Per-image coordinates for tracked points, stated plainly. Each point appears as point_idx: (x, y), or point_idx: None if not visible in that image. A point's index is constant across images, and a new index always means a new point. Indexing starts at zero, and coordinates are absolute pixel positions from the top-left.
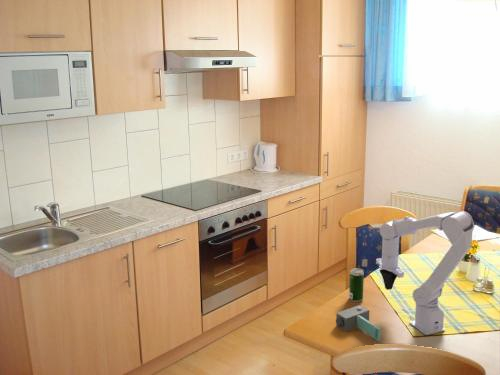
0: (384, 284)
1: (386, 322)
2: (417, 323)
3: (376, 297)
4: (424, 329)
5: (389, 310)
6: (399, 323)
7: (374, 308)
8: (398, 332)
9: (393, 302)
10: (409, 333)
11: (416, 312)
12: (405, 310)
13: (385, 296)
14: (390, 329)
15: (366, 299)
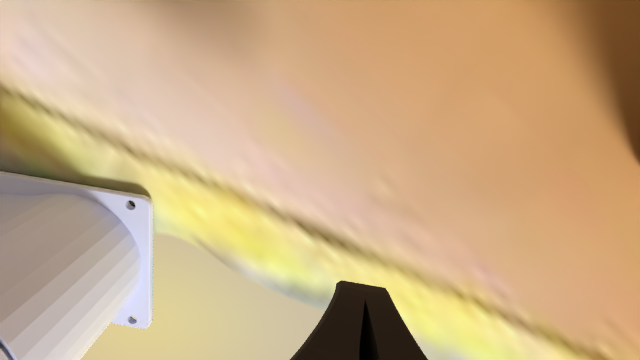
0: (396, 314)
1: (234, 65)
2: (51, 202)
3: (593, 289)
4: (4, 196)
5: (373, 220)
6: (179, 138)
7: (468, 150)
8: (69, 32)
9: (449, 324)
10: (32, 92)
11: (11, 245)
12: (312, 303)
13: (555, 346)
14: (129, 11)
15: (629, 206)
